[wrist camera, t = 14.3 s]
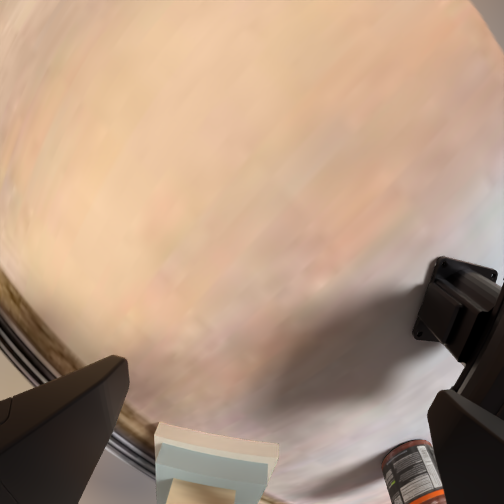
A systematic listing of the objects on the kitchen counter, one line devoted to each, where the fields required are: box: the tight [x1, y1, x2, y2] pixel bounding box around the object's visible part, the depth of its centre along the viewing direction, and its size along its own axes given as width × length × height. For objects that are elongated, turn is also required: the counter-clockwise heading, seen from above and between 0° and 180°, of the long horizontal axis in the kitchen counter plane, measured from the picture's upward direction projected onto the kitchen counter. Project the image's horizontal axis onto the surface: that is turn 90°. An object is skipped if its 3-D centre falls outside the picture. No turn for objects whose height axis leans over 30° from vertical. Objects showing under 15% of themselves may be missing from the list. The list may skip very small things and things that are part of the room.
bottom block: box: [154, 422, 279, 504], centre depth 25 cm, size 11×11×2 cm
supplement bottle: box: [382, 440, 446, 504], centre depth 19 cm, size 6×6×11 cm
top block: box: [155, 443, 268, 504], centre depth 23 cm, size 10×10×2 cm
